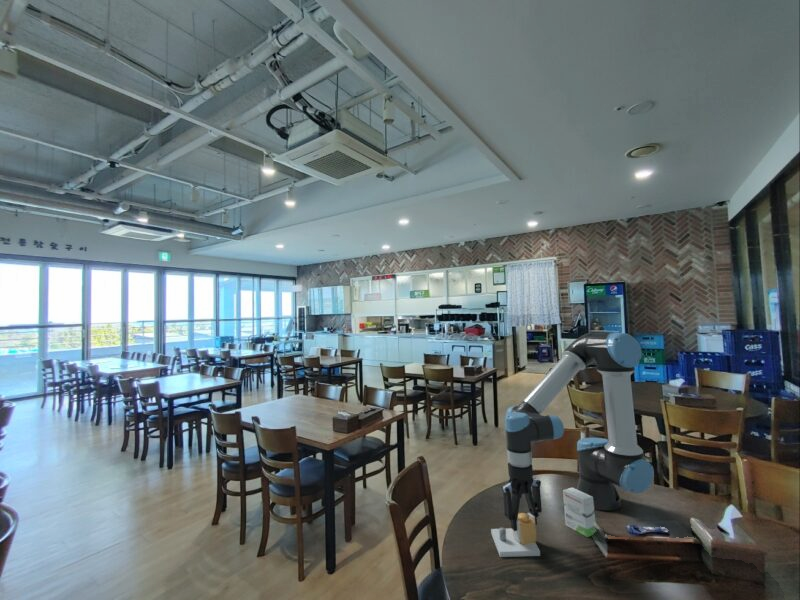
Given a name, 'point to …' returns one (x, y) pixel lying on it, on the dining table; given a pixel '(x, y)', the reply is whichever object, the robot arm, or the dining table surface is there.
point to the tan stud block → (527, 529)
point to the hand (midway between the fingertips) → (525, 537)
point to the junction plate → (512, 544)
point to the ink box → (579, 511)
